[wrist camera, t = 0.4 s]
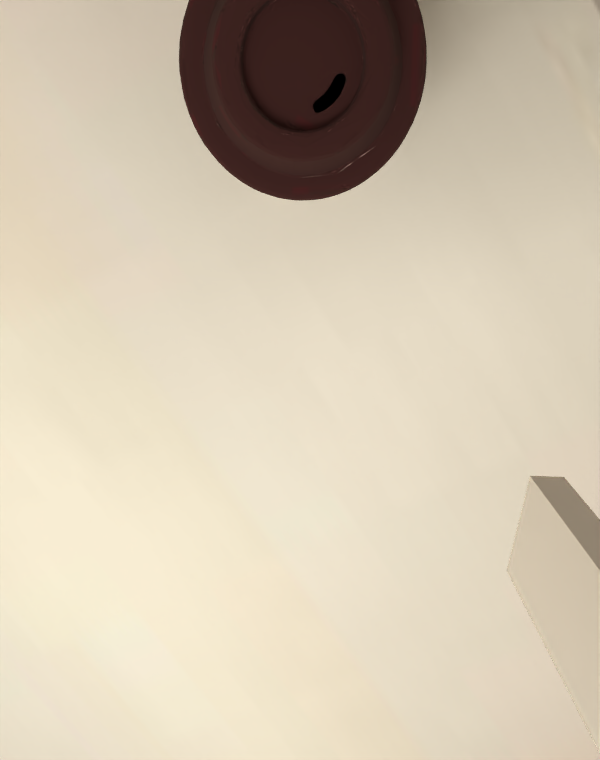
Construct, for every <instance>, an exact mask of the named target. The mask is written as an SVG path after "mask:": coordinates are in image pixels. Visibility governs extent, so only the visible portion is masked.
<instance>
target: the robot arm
mask: <svg viewBox="0 0 600 760" xmlns="http://www.w3.org/2000/svg"><path fill="white" fill-rule="evenodd" d="M507 572H508V574H509V576H510V578H511V580H512V582H513V584H514V586H515V588H516V590H517V592H518V594H519V596H520V598H521V600H522V602H523V604H524V606H525V608H526V610H527V612H528V614H529V615H530V617H531V619H532V621H533V623H534V625H535V627H536V629H537V631H538V633H539V635H540V637H541V639H542V641H543V643H544V645H545V647H546V649H547V651H548V653H549V655H550V657H551V659H552V661H553V663H554V665H555V667H556V669H557V671H558V673H559V675H560V677H561V679H562V680H563V682H564V684H565V686H566V688H567V690H568V692H569V694H570V696H571V698H572V700H573V702H574V704H575V706H576V708H577V710H578V712H579V714H580V716H581V718H582V720H583V722H584V724H585V726H586V728H587V730H588V732H589V734H590V736H591V738H592V740H593V742H594V744H595V745H596V747H597V749H598V751H599V753H600V520H599V518H598V517H597V516H596V515H595V514H594V512H593V511H592V510H591V509H590V508H589V506H588V505H587V504H586V503H585V502H584V500H583V499H582V498H581V497H580V496H579V495H578V493H577V492H576V491H575V490H574V489H573V487H572V486H571V485H570V484H569V483H568V481H567V480H566V479H565V478H564V477H546V476H530V479H529V483H528V487H527V491H526V495H525V499H524V503H523V507H522V511H521V515H520V519H519V523H518V527H517V531H516V535H515V539H514V543H513V547H512V551H511V555H510V560H509V564H508V568H507Z"/></svg>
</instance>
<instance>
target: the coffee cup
mask: <svg viewBox="0 0 600 760" xmlns="http://www.w3.org/2000/svg"><path fill="white" fill-rule="evenodd" d="M426 63H427V60H426V38H425V30H424V25H423V19H422V15H421V12H420V8H419V5H418V2H417V0H189V2H188V6H187V9H186V13H185V16H184V19H183V25H182V30H181V36H180V49H179V68H180V76H181V83H182V89H183V94H184V99H185V102H186V105H187V108H188V112H189V114H190V117H191V119H192V122H193V124H194V126H195V128H196V130H197V132H198V134H199V136H200V138H201V139H202V141H203V143H204V144H205V146H206V147H207V148H208V150H209V151H210V152H211V154H212V155H213V156H214V157H215V158H216V159H217V161H218V162H219V163H220V164H221V165H222V166H223V167H224V168H225V169H226V170H227V171H228V172H229V173H231V174H232V175H233V176H235V177H236V178H237V179H239V180H240V181H241V182H243V183H245V184H246V185H248V186H250V187H252V188H253V189H255V190H257V191H260V192H262V193H265V194H268V195H271V196H275V197H278V198H283V199H289V200H316V199H323V198H327V197H331V196H335V195H338V194H341V193H343V192H345V191H348V190H350V189H352V188H354V187H356V186H358V185H359V184H361V183H362V182H364V181H365V180H367V179H368V178H370V177H371V176H372V175H373V174H375V173H376V172H377V171H378V170H379V169H380V168H381V167H382V166H383V165H385V164H386V162H387V161H388V160H389V159H390V158H391V157H392V156H393V154H394V153H395V152H396V150H397V149H398V148H399V146H400V145H401V143H402V142H403V140H404V139H405V137H406V135H407V133H408V131H409V129H410V127H411V125H412V123H413V121H414V118H415V116H416V113H417V111H418V107H419V104H420V101H421V97H422V93H423V89H424V83H425V76H426Z"/></svg>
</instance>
